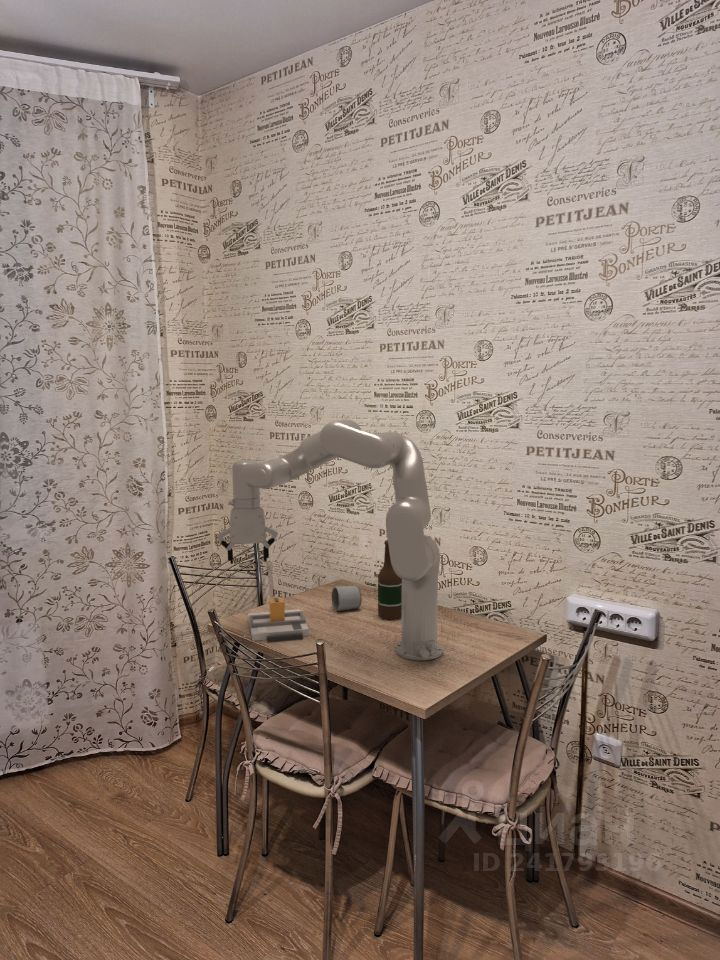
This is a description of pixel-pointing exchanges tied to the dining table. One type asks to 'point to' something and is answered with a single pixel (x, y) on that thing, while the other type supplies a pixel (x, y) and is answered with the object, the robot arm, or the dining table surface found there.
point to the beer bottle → (389, 590)
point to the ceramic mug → (346, 598)
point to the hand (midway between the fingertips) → (248, 561)
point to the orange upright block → (276, 609)
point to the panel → (276, 624)
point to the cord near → (284, 637)
